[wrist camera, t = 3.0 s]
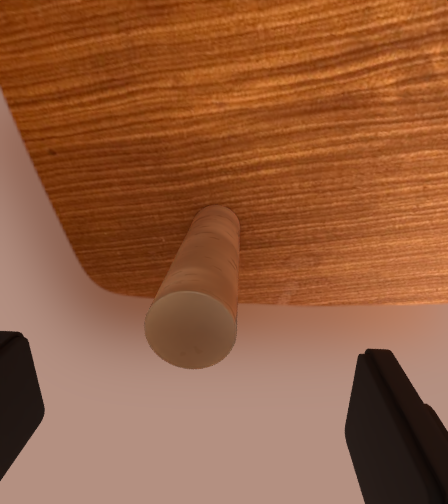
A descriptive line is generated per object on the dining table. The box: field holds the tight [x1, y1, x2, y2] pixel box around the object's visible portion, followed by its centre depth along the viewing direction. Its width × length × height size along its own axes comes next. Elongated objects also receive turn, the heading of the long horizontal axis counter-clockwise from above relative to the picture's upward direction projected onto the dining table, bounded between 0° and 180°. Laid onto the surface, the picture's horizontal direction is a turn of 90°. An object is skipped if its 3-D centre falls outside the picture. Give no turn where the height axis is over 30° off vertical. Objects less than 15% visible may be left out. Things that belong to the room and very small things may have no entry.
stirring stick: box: [144, 205, 240, 369], centre depth 17 cm, size 3×3×12 cm
